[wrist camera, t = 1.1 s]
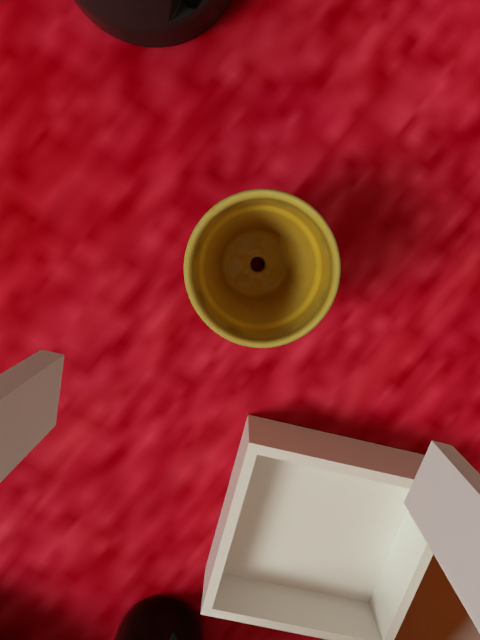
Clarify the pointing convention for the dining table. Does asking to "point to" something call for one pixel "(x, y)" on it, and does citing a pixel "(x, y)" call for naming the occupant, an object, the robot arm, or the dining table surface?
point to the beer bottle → (160, 622)
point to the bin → (316, 535)
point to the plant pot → (273, 280)
